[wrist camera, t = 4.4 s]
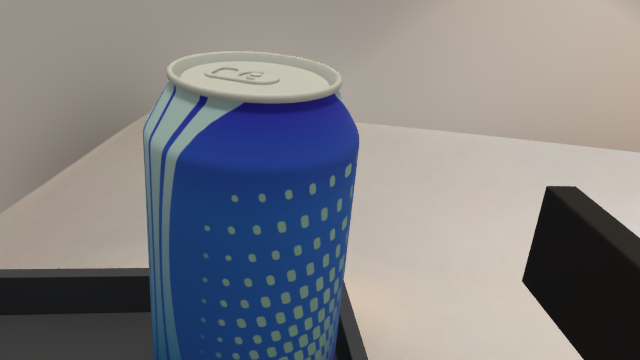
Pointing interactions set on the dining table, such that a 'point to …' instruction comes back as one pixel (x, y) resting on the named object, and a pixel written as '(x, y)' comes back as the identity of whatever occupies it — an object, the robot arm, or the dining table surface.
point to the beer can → (248, 207)
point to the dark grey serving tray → (100, 316)
